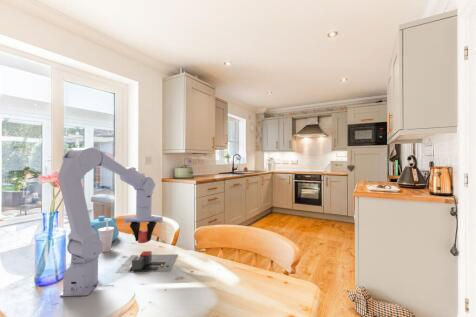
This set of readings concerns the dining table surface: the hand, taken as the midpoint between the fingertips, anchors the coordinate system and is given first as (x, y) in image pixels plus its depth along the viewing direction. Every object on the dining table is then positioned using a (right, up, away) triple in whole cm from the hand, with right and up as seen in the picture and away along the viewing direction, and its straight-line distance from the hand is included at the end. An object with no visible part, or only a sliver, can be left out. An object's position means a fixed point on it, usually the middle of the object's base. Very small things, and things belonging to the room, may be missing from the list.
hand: (143, 240), depth 92 cm
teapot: (-32, -8, +21) cm, 39 cm away
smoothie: (-21, -8, +10) cm, 25 cm away
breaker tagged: (+3, -6, -6) cm, 9 cm away
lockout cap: (0, 0, 0) cm, 0 cm away
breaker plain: (+2, -6, -10) cm, 12 cm away
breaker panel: (+4, -8, -5) cm, 10 cm away
